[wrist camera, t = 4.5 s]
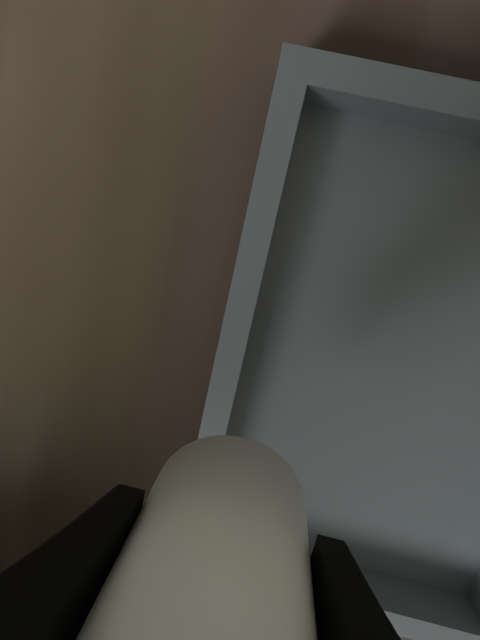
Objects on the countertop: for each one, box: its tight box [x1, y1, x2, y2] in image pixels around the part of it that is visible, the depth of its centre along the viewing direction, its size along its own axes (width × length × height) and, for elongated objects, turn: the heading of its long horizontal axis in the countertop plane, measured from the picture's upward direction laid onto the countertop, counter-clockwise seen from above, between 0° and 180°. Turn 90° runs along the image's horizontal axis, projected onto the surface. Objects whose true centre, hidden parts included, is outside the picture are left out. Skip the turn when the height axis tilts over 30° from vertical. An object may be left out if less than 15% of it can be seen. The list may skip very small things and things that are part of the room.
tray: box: [197, 42, 480, 640], centre depth 15 cm, size 14×20×2 cm
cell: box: [76, 435, 317, 640], centre depth 7 cm, size 4×4×7 cm
